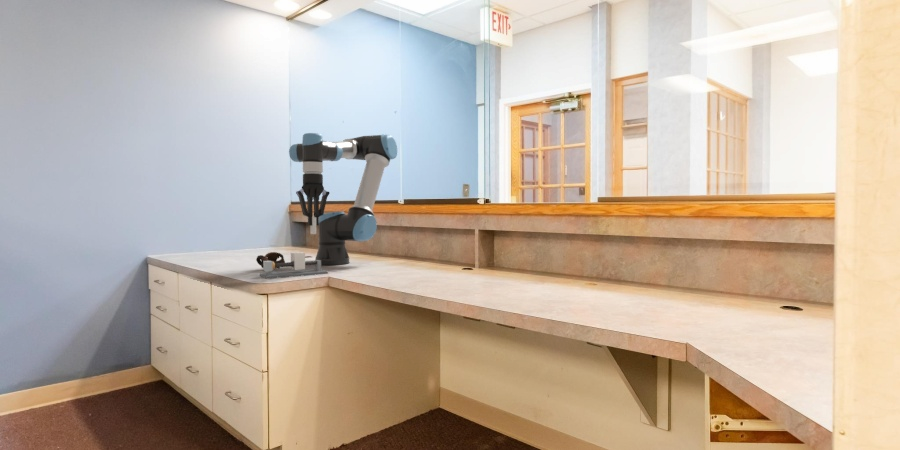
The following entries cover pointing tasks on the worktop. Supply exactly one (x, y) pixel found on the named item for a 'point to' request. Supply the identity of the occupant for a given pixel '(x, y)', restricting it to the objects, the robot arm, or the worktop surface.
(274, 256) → the pottery mug
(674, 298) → the worktop surface
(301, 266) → the sleeve
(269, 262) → the cord jig
